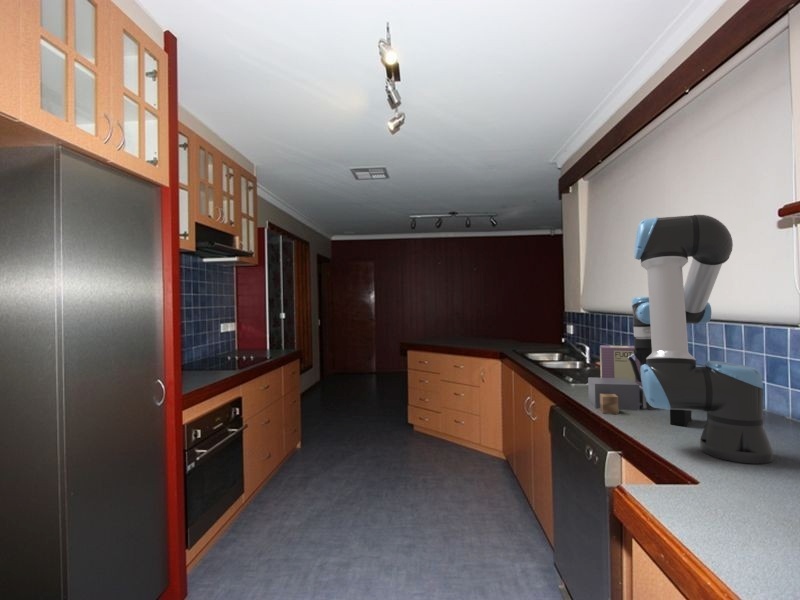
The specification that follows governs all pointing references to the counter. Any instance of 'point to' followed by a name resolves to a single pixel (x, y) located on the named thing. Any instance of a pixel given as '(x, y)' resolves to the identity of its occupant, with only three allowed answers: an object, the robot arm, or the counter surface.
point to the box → (617, 362)
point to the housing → (614, 391)
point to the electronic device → (680, 417)
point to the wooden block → (609, 403)
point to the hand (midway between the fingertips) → (648, 400)
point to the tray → (642, 397)
